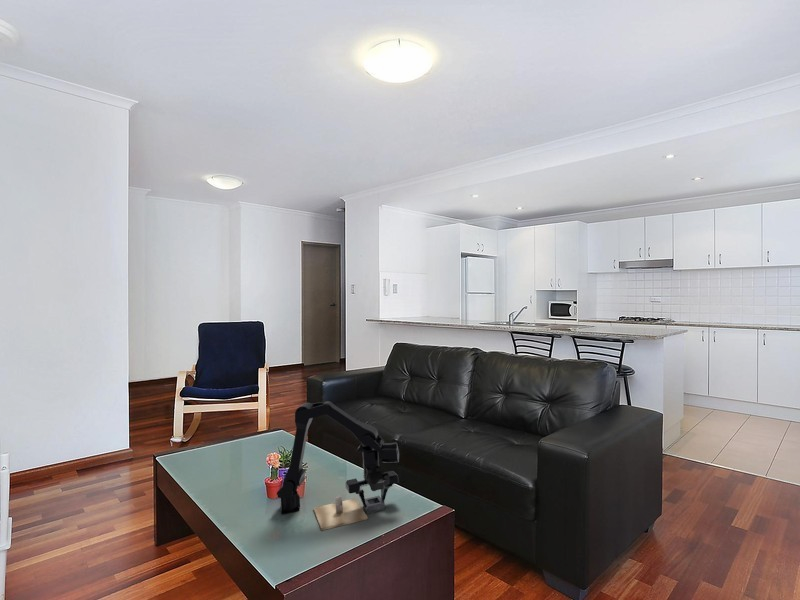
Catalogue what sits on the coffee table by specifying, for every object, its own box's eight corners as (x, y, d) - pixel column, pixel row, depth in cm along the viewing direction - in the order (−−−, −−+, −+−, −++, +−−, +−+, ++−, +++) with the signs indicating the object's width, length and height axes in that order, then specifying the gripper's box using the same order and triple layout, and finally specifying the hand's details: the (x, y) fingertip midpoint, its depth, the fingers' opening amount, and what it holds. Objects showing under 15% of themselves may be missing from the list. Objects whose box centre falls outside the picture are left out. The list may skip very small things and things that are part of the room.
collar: (368, 513, 160) (367, 506, 159) (363, 506, 166) (362, 499, 165) (385, 509, 162) (384, 502, 162) (379, 502, 168) (379, 495, 168)
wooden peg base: (321, 530, 150) (320, 511, 150) (313, 509, 165) (312, 492, 165) (367, 519, 156) (366, 501, 155) (355, 500, 171) (354, 483, 170)
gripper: (351, 475, 153) (354, 521, 153) (402, 464, 159) (405, 508, 159) (343, 464, 163) (346, 507, 163) (392, 455, 170) (394, 496, 170)
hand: (373, 504), depth 164 cm, fingers open, 7 cm apart
